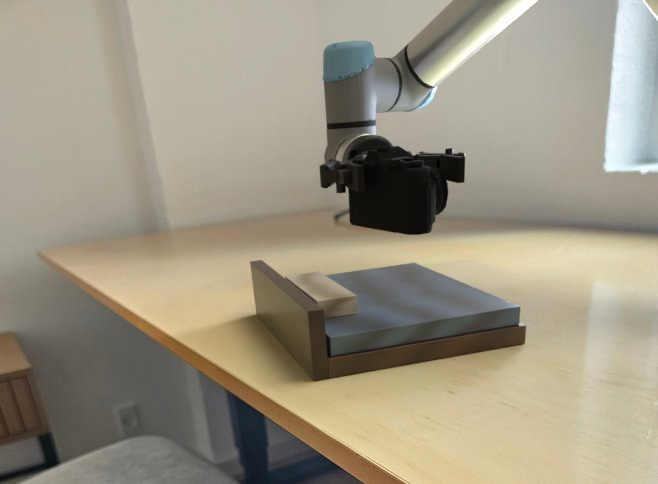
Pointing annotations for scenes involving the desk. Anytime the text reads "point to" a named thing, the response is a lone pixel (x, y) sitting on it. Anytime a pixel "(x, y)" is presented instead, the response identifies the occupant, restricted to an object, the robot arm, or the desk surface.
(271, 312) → the bed
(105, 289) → the desk surface
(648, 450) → the desk surface
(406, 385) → the desk surface
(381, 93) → the robot arm
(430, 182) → the film camera
